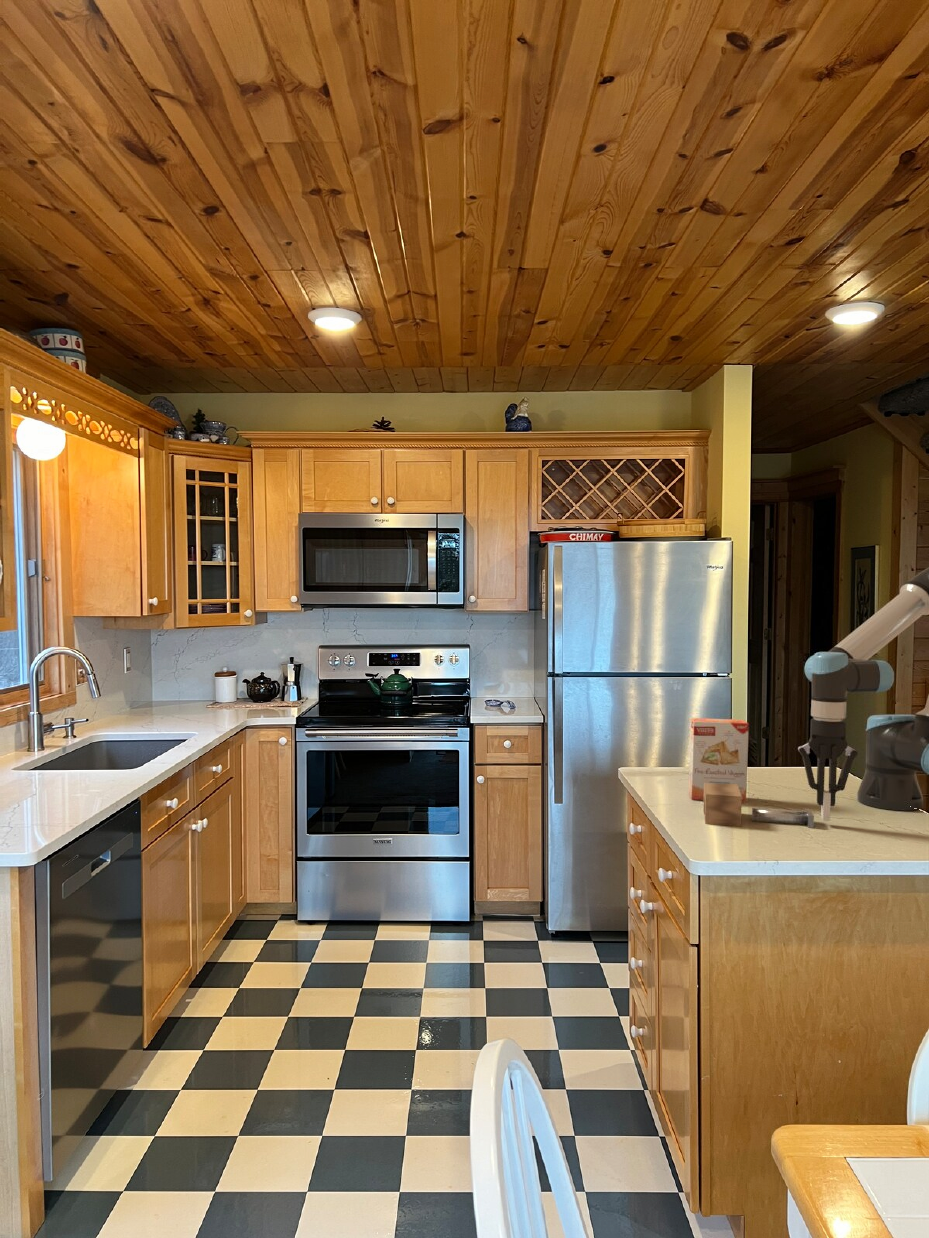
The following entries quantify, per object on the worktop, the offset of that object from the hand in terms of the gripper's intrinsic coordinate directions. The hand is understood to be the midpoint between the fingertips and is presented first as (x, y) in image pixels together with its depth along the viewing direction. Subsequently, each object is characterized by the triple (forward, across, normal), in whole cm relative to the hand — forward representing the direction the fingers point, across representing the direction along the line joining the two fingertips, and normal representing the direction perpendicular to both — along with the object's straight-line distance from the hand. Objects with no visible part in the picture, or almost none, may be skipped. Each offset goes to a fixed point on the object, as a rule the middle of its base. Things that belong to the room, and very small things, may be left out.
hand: (825, 819), depth 196 cm
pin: (+2, +10, 0) cm, 10 cm away
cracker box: (+2, +23, -19) cm, 30 cm away
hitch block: (+2, +23, 0) cm, 23 cm away
